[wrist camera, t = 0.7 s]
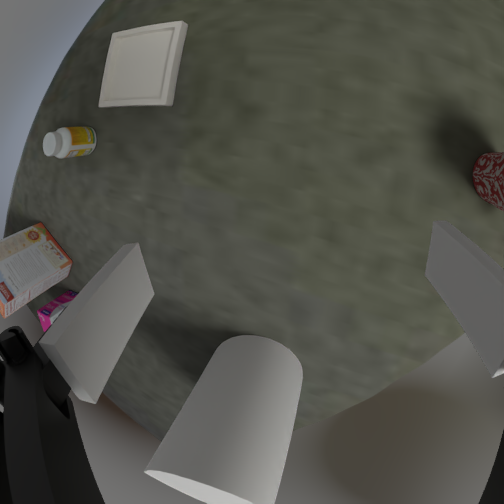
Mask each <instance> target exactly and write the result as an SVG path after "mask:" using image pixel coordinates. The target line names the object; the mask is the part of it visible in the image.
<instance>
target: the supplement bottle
mask: <svg viewBox="0 0 504 504" xmlns="http://www.w3.org/2000/svg"><path fill="white" fill-rule="evenodd" d="M96 141H97V138H96V133H95V131H94V129H93V128H91V127H63V128H59V129H58V130H57V131H56V132H49V133H47V134H46V136H45V137H44V141H43V150H44V153H45V154H46V155H47V156H56V157H57V158H68V157H75V156H83V155H88V154H90V153H91V152H92V151H93V150H94V148H95V146H96Z"/></svg>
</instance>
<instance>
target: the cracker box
mask: <svg viewBox="0 0 504 504" xmlns="http://www.w3.org/2000/svg"><path fill="white" fill-rule="evenodd" d="M72 262H73V261H72V260H71V259H70V258H69V257H68V255H67V254H66V253H65V252H64V251H63V249H62V248H61V247H60V246H59V245H58V243H57V242H56V241H55V239H54V238H53V237H52V236H51V234H50V233H49V232H48V231H47V229H46V228H45V227H44V225H43V224H42V223H38V224H36V225H33V226H31V227H28V228H26V229H24V230H22V231H19V232H17V233H15V234H12V235H10V236H8V237H6V238H4V239H2V240H0V313H1V315H2V316H3V318H6V317H8V316H9V315H11V314H12V313H13V312H15V311H16V310H18V309H19V308H21V307H22V306H23V305H25V304H26V303H28V302H29V301H31V300H32V299H34V298H35V297H37V296H38V295H40V294H41V293H43V292H44V291H46V290H47V289H49V288H50V287H52V286H53V285H55V284H57V283H58V282H60V281H61V280H63V279H64V278H66V277H68V274H69V271H70V268H71V265H72Z"/></svg>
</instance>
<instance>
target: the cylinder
mask: <svg viewBox="0 0 504 504" xmlns="http://www.w3.org/2000/svg"><path fill="white" fill-rule="evenodd" d="M302 379H303V371H302V366H301V364H300V362H299V360H298V358H297V357H296V356H295V355H294V354H293V353H292V351H291V350H289V349H288V348H286V347H285V346H284V345H282V344H281V343H278V342H276V341H274V340H272V339H269V338H266V337H261V336H257V335H241V336H236V337H232V338H230V339H228V340H226V341H224V342H222V343H221V344H220V346H219V347H218V348H217V349H216V351H215V352H214V354H213V356H212V358H211V359H210V361H209V363H208V364H207V366H206V368H205V370H204V371H203V373H202V375H201V377H200V378H199V380H198V382H197V383H196V385H195V387H194V388H193V390H192V392H191V394H190V395H189V397H188V399H187V400H186V402H185V404H184V405H183V407H182V409H181V411H180V412H179V414H178V416H177V417H176V419H175V421H174V422H173V424H172V426H171V427H170V429H169V431H168V432H167V434H166V436H165V437H164V439H163V441H162V442H161V444H160V446H159V447H158V449H157V451H156V452H155V454H154V455H153V457H152V459H151V461H150V462H149V464H148V465H147V467H146V469H145V470H144V472H145V473H146V474H148V475H150V476H152V477H153V478H155V479H157V480H159V481H161V482H163V483H165V484H167V485H168V486H170V487H172V488H175V489H177V490H178V491H181V492H183V493H185V494H187V495H189V496H191V497H193V498H196V499H198V500H201V501H203V502H205V503H208V504H274V503H275V499H276V496H277V492H278V488H279V485H280V481H281V477H282V473H283V469H284V465H285V461H286V457H287V452H288V448H289V444H290V439H291V435H292V430H293V425H294V421H295V416H296V411H297V406H298V401H299V395H300V390H301V385H302Z"/></svg>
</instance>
